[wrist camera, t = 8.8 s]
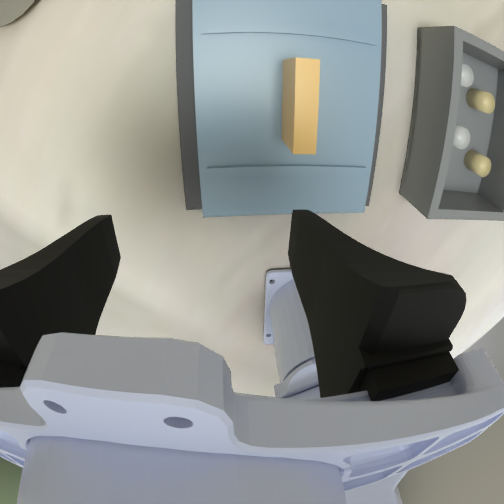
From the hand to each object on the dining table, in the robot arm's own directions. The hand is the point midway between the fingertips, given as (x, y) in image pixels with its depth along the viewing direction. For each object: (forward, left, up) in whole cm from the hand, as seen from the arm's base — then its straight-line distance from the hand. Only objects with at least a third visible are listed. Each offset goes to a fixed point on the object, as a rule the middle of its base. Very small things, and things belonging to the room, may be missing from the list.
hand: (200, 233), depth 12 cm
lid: (+4, -5, -10) cm, 12 cm away
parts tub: (+4, -20, -10) cm, 23 cm away
